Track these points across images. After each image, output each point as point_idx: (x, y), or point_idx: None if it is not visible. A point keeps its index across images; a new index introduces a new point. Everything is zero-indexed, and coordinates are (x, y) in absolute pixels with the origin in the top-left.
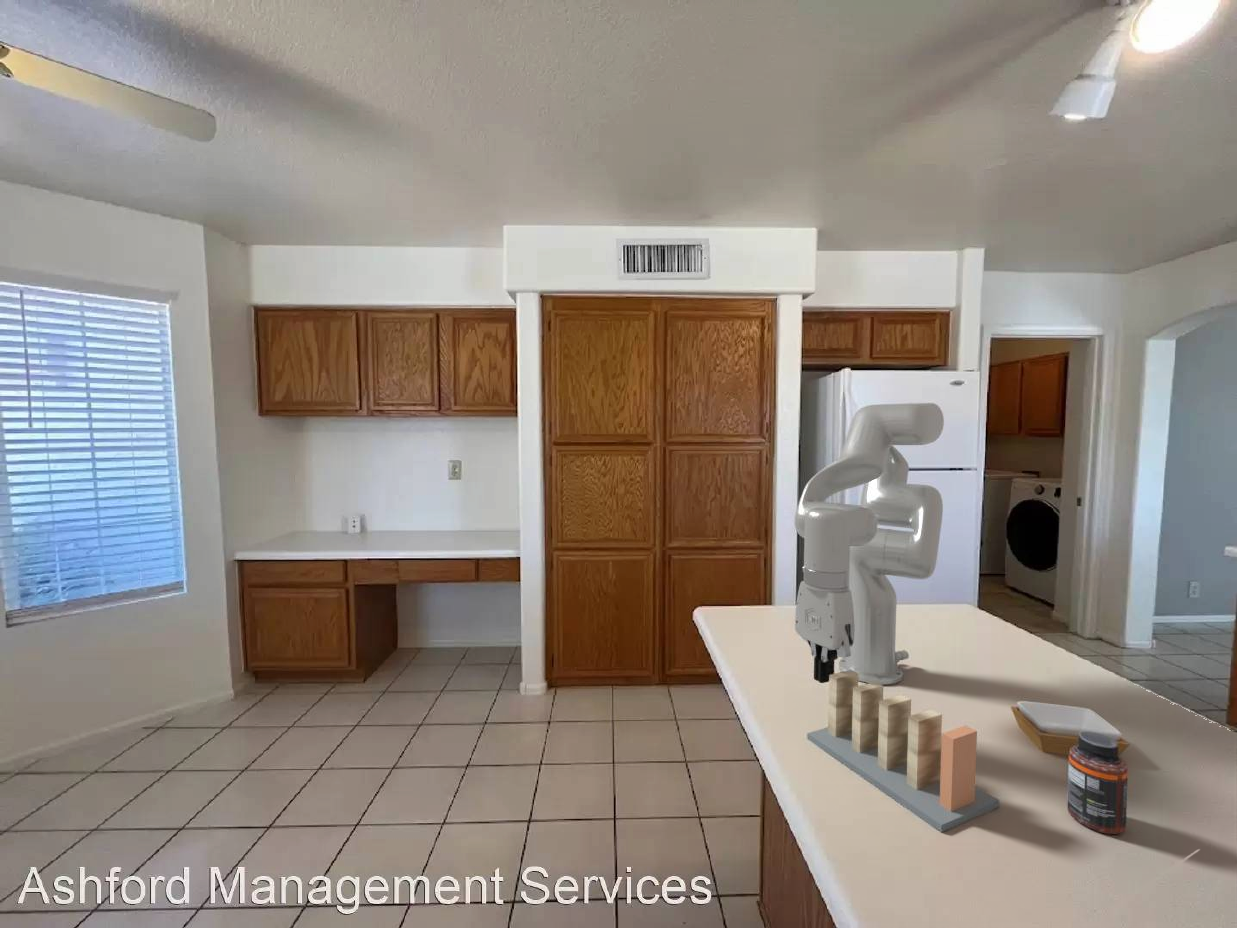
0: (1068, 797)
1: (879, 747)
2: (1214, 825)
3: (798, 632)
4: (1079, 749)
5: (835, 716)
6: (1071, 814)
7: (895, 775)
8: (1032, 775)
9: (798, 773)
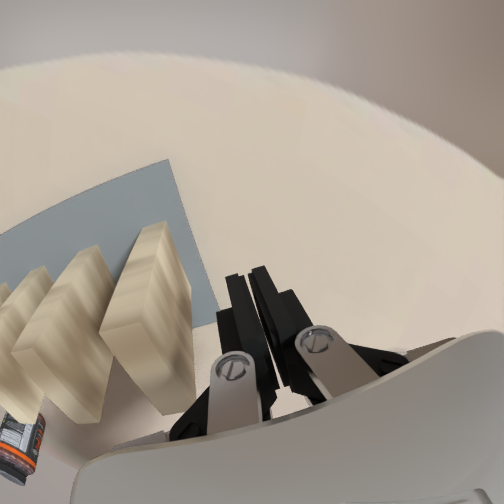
0: None
1: (25, 285)
2: (56, 456)
3: (475, 344)
4: (8, 462)
5: (134, 250)
6: None
7: (19, 276)
8: (87, 424)
9: (47, 87)
